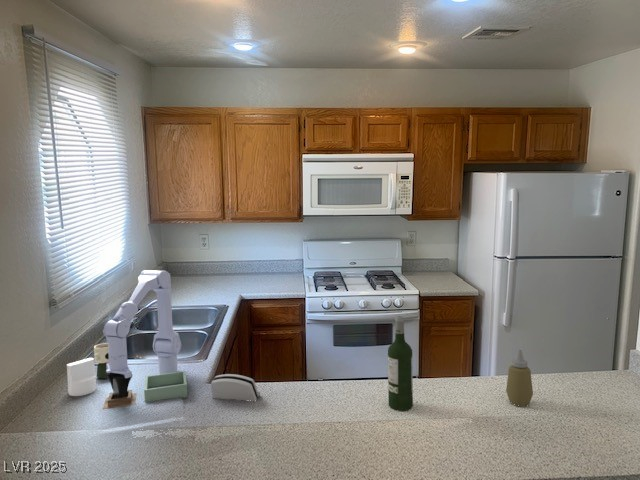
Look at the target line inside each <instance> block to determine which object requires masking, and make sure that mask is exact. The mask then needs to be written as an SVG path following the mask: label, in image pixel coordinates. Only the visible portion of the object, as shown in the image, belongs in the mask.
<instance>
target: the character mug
mask: <svg viewBox="0 0 640 480" xmlns="http://www.w3.org/2000/svg"><path fill="white" fill-rule="evenodd" d="M93 355H94V358H93V359H94V363H95V364H96V363H97V365H96V366H97V367H96V368H97V369H96V378H99V379H108V377H107V376H106V373H107V372H106V370H107V367H106V364H107V363H109V352H108V342H105V343H104V342H103V343H98V344H96V345H94V346H93Z"/></svg>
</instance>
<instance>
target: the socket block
mask: <svg viewBox="0 0 640 480" xmlns="http://www.w3.org/2000/svg"><path fill="white" fill-rule="evenodd" d="M137 395H138V393H137V392H135V393H133V389H128V390H127V397H124V398H117V399H114V392H109V395H108V397H105V401H104V404H103V407H102V410H108V409H115V408H120V407H121V408H122V407H127V406H134V405H136V401H137Z"/></svg>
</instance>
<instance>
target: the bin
mask: <svg viewBox="0 0 640 480" xmlns="http://www.w3.org/2000/svg"><path fill="white" fill-rule="evenodd" d="M143 391H144V402H145V403H146V402H153V401H160V400H165V399H171V398H172V399H173V398H179V397H181V399H182V400H183V399H188V383H187V377H186V371H185V370H183V371H179V372H173V373H166V374H159V375H158V374H152V375H146V376H145V380H144V390H143Z"/></svg>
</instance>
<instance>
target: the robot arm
mask: <svg viewBox="0 0 640 480" xmlns="http://www.w3.org/2000/svg"><path fill="white" fill-rule="evenodd" d="M171 280H172V279H171V273H169V271H167V270H164V269H163V270H152V269H151V270H148V269H144V270H142V271H141V273H140V274H139V276H138V277H137V281H138V283H137V285H136V287H135V289H134V290H133V292H132V294H131V296H130V298H129V299H128V301H125V302H123V303H122V304H121V305H120V306H119V309H118V310H117V311H116V313H115V315H114V316H113V318H112V319H110V320H108V321H106V322H105V324H104V326H103V330H102V333H103V336H104V337H105V340H106V343H108V352H109V363H107V364H106V367H107V370H106V372H107V373H106V376H107V377H108V378H107V379H108V380H109V383H110V385H111V388H112V391H113V378H114V379H115V381H116V383H117V386H118V391H119V395H120V396H123V395H126V394H127V390H129V389H128V388H129V385H130V382H131V379H132V378H133V374H132V373H133V372H132V370H131V369H130V366H129V365H128V364H129V363H128V349H127V347H128V346H127V335H128V334H129V333H130V329H131V325H132V321H133V319H134V317H136V315H137V313H138V311H139V308H138V305H139V304H140V302H141V301H142V300H143V299H144V298H145V297H146V295H147V294H148V293H149V291H153V292H155V293H156V306H157V308H156V309H157V324H158V325H157V326H158V327H157V328H158V329H157V330H158V331H157V333H155V334H154V336H153V341H152V349H153V351H154V353H155V355H156V356H157V359H158V360H157V362H158V366H157V367H158V372H159V374H166V373H173V372H178V369H179V368H178V354H179V353H180V351H181V349H182V341H181V338H180V334H179V333H178V332H177V331H175V329H174V328H173V327H174V326H173V311H172V309H173V308H172V281H171ZM113 392H114V391H113ZM113 392H112V393H113Z"/></svg>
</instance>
